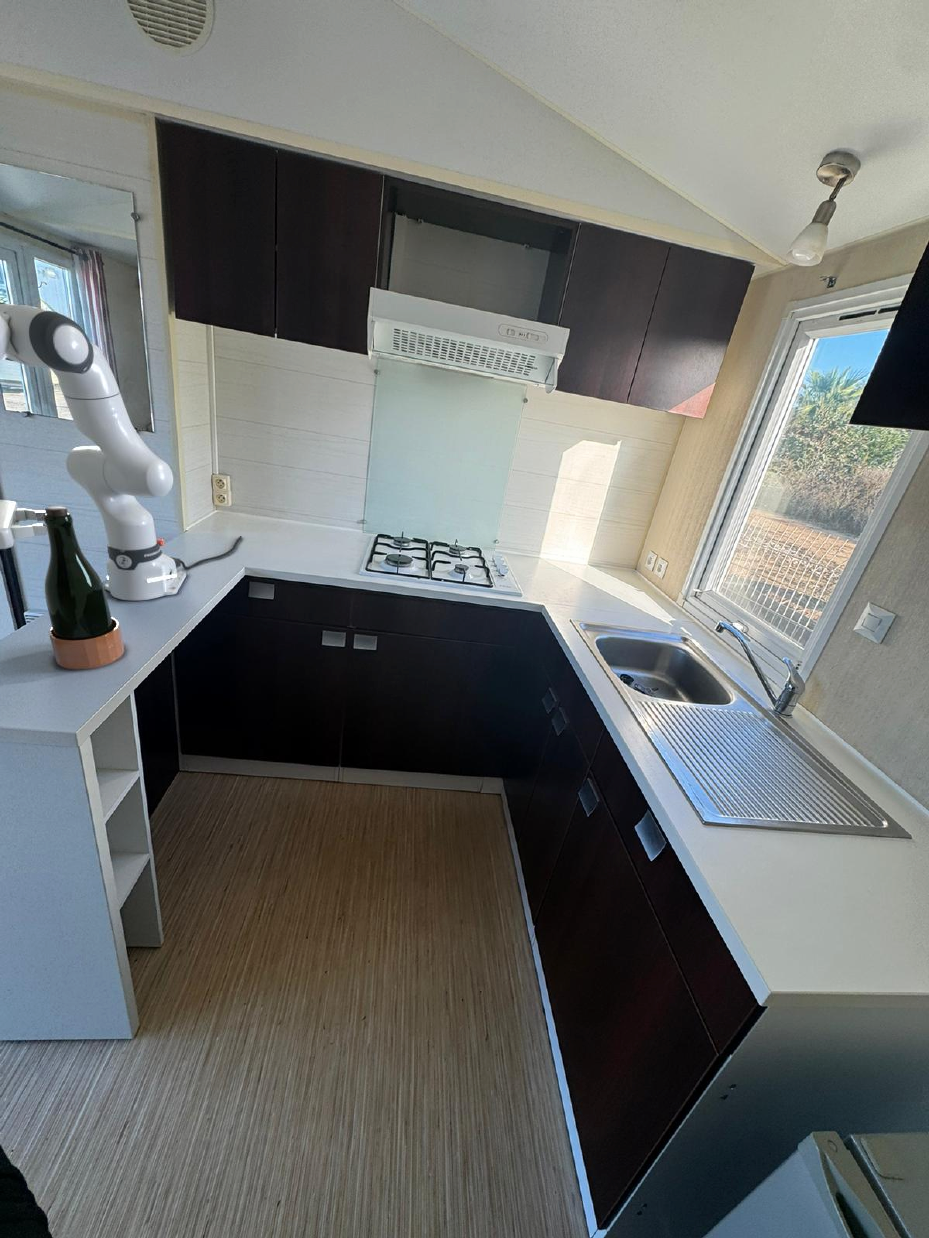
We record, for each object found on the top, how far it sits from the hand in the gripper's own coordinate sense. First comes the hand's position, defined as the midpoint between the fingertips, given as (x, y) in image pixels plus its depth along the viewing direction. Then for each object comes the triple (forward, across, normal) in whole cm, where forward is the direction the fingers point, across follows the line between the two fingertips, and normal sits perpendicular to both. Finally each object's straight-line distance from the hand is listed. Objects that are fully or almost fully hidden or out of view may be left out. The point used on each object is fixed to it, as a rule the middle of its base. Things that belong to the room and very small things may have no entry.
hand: (47, 522), depth 94 cm
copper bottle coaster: (+2, 0, +31) cm, 31 cm away
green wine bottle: (+2, 0, +30) cm, 30 cm away
